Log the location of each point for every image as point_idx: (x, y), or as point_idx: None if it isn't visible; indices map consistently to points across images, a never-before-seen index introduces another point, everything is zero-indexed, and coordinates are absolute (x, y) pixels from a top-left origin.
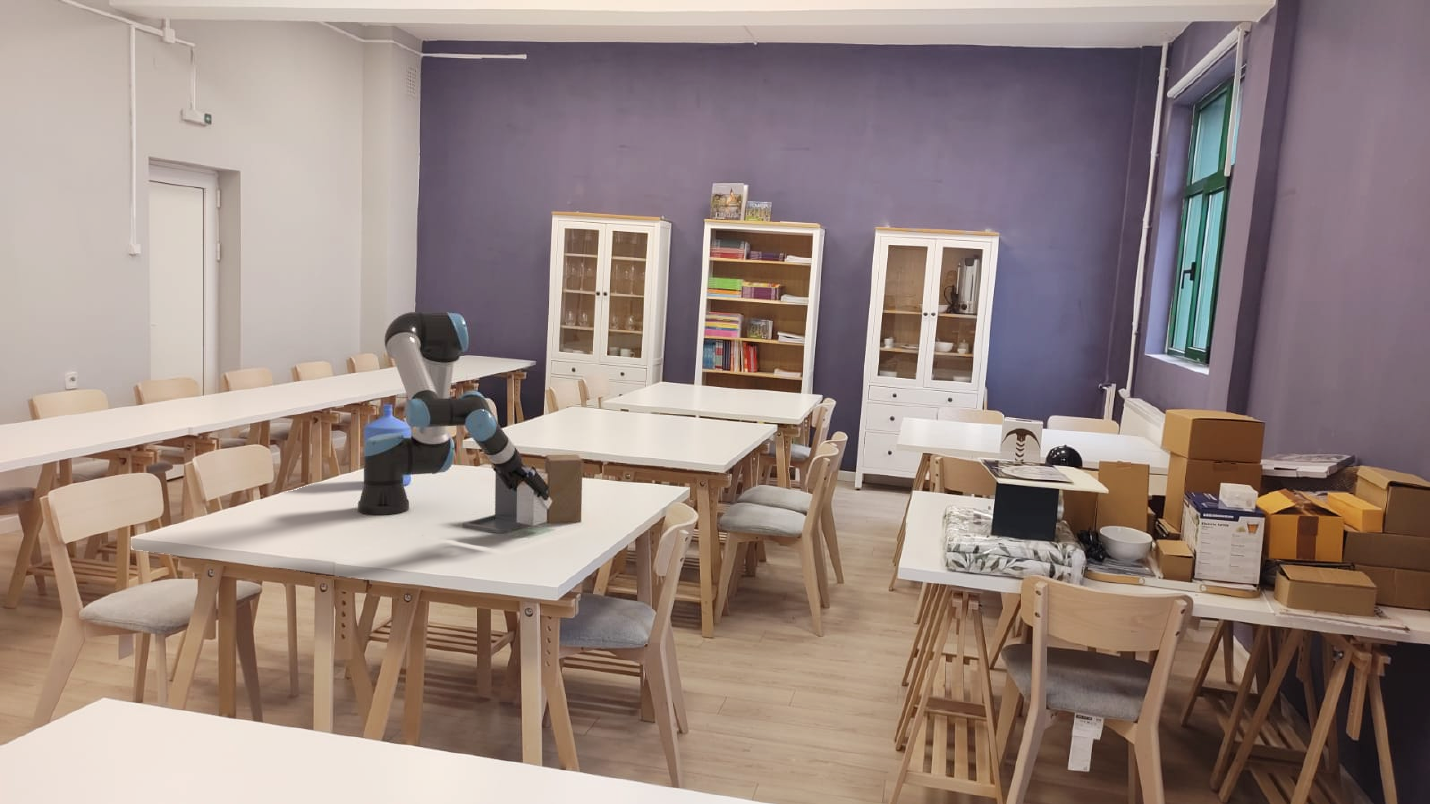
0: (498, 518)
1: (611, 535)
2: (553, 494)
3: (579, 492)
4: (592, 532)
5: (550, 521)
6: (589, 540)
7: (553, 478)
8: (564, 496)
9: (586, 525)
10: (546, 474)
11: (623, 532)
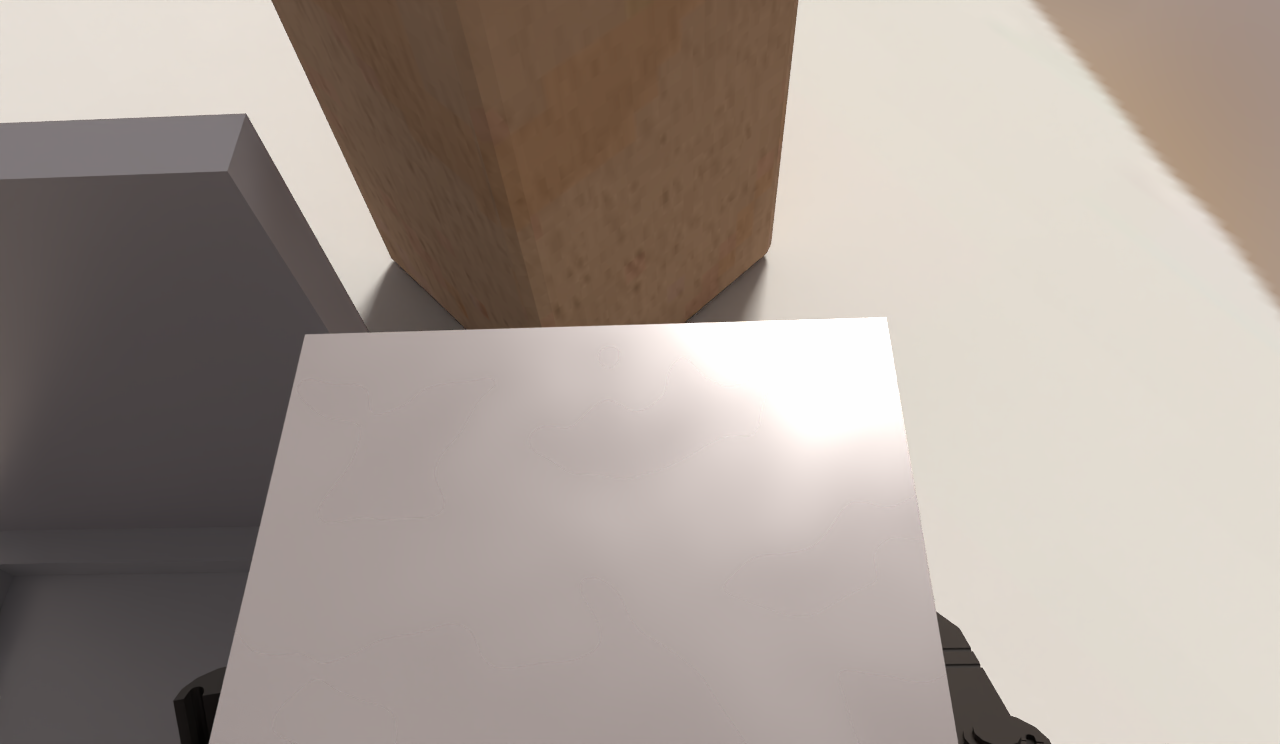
0: (47, 572)
1: (1218, 347)
2: (564, 198)
3: (786, 23)
4: (1018, 362)
5: None
6: (1253, 605)
7: (527, 26)
8: (663, 145)
9: (802, 227)
10: (887, 363)
11: (1194, 227)
